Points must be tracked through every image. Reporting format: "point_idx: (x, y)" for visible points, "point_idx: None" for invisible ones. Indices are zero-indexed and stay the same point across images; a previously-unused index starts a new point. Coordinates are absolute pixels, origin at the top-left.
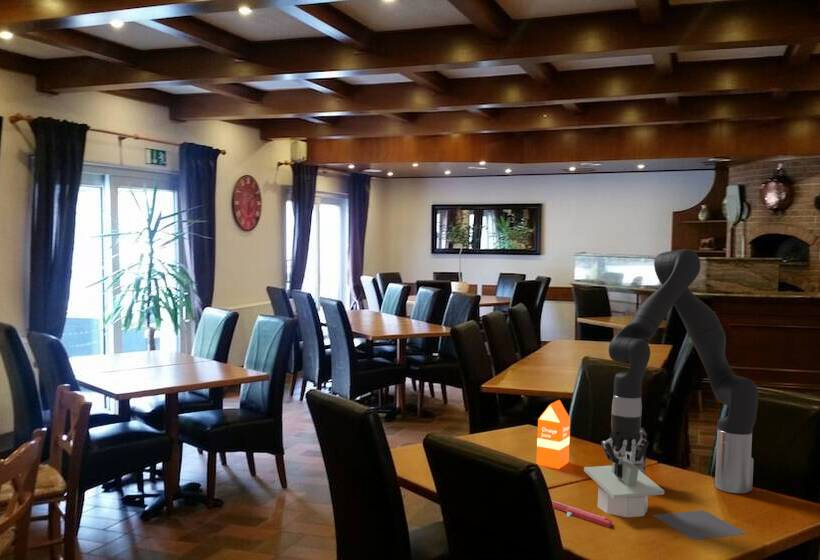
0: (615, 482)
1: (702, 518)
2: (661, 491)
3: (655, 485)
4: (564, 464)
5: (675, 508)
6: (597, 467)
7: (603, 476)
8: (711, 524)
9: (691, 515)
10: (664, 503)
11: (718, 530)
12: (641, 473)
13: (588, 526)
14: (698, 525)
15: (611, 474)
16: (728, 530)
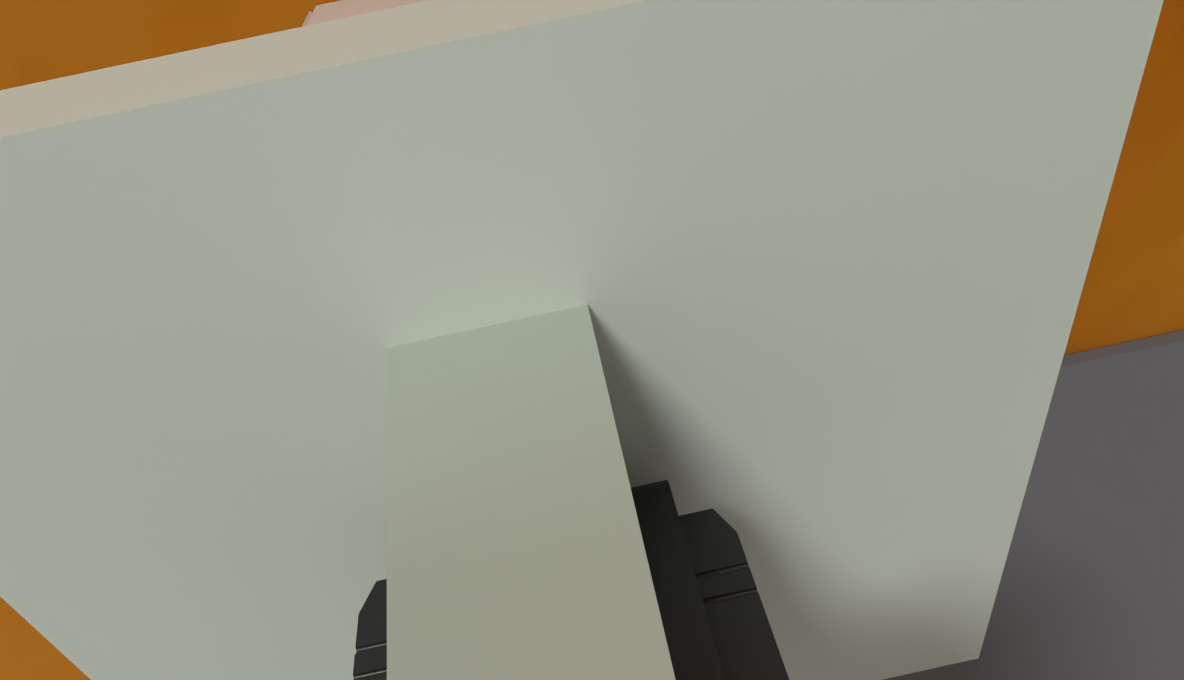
0: (355, 623)
1: (1178, 479)
2: (930, 668)
3: (963, 587)
4: None
5: (1164, 205)
6: (35, 193)
7: (159, 515)
8: (1141, 577)
9: (1140, 424)
10: (1167, 44)
11: (1095, 660)
12: (1034, 318)
13: (28, 644)
14: (1021, 600)
15: (357, 433)
16: (1167, 654)
